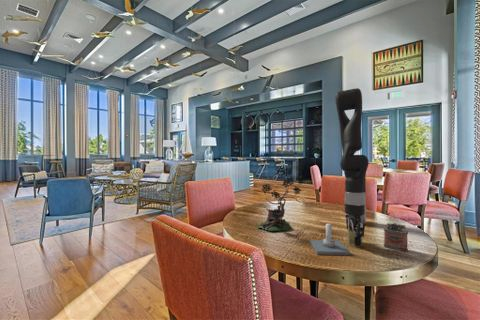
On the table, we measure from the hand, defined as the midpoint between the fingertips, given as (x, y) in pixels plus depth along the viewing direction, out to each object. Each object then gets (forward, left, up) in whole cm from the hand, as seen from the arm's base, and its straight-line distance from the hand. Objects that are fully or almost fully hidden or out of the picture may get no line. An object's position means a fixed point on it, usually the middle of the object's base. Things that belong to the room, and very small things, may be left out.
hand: (354, 242), depth 97 cm
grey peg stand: (+5, -12, -1) cm, 13 cm away
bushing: (0, 0, -1) cm, 1 cm away
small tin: (+4, +14, -1) cm, 15 cm away
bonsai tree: (-26, -27, -1) cm, 37 cm away
